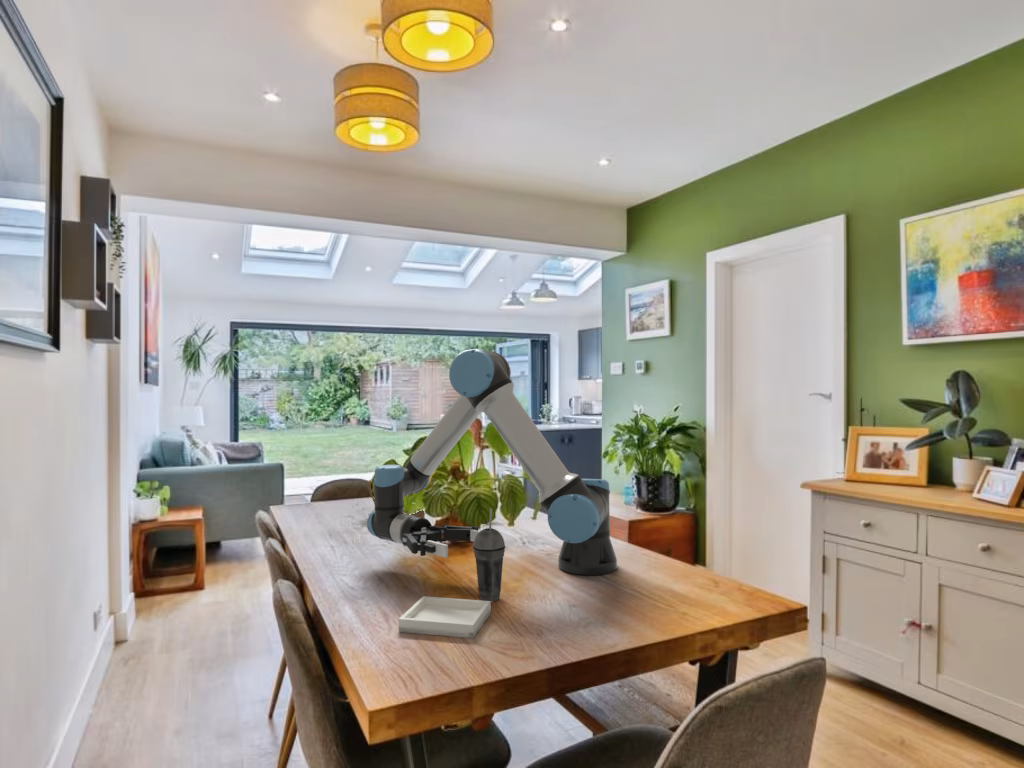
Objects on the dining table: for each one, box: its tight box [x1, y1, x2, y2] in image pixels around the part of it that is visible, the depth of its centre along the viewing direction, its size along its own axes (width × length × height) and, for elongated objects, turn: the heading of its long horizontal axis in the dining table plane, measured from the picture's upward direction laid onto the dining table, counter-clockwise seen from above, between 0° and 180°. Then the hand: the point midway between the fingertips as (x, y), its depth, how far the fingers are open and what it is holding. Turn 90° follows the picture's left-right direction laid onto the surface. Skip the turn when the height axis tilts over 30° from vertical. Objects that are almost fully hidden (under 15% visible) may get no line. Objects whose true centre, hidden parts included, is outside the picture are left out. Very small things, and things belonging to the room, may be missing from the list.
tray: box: [398, 595, 492, 639], centre depth 124 cm, size 15×13×2 cm
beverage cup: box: [472, 507, 506, 602], centre depth 137 cm, size 7×7×20 cm
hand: (469, 545), depth 141 cm, fingers open, 13 cm apart
